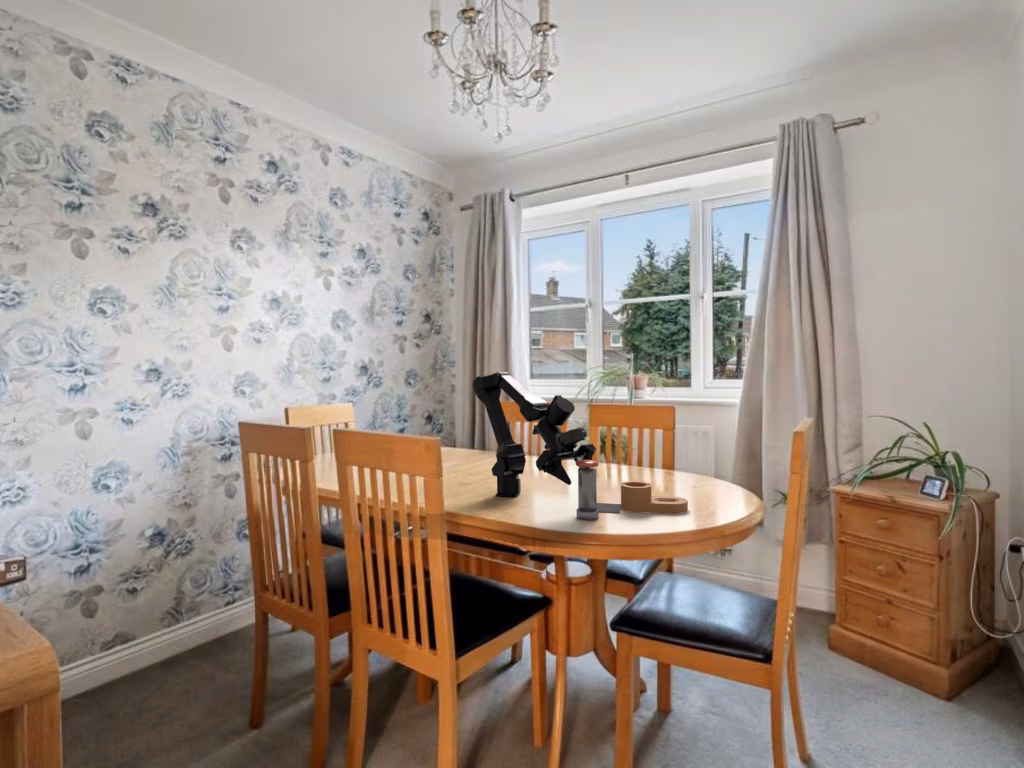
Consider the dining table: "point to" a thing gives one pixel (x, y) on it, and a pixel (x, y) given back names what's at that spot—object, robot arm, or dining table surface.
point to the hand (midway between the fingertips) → (582, 481)
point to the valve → (587, 490)
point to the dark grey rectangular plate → (608, 507)
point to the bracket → (649, 499)
